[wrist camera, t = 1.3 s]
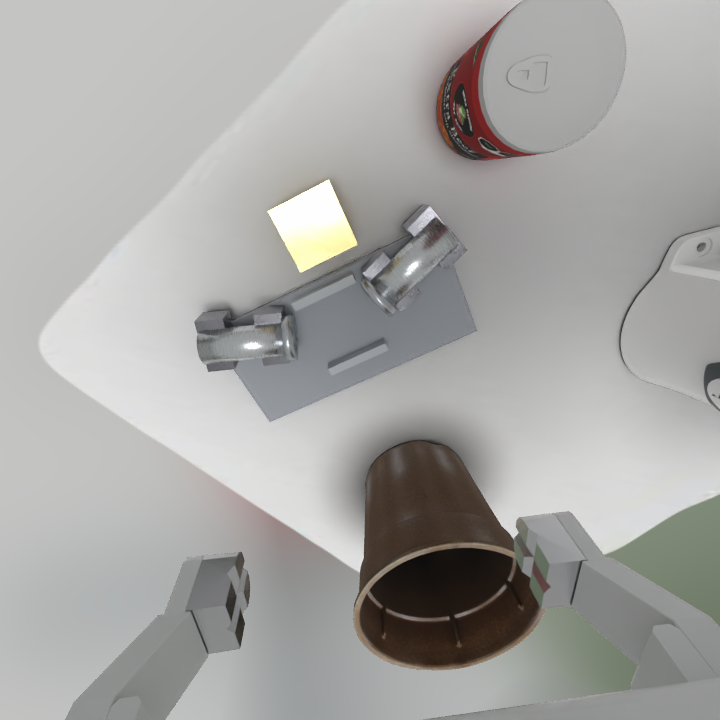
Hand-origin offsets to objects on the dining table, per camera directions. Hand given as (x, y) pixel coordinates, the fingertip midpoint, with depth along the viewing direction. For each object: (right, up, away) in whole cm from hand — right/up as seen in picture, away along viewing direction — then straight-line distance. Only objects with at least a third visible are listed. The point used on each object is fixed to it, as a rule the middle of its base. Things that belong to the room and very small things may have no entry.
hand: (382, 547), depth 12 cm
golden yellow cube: (-4, +18, +22) cm, 29 cm away
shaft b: (-11, +9, +26) cm, 29 cm away
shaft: (+3, +15, +24) cm, 29 cm away
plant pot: (+6, -9, +36) cm, 37 cm away
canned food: (+9, +26, +20) cm, 34 cm away
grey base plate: (-3, +9, +26) cm, 28 cm away
